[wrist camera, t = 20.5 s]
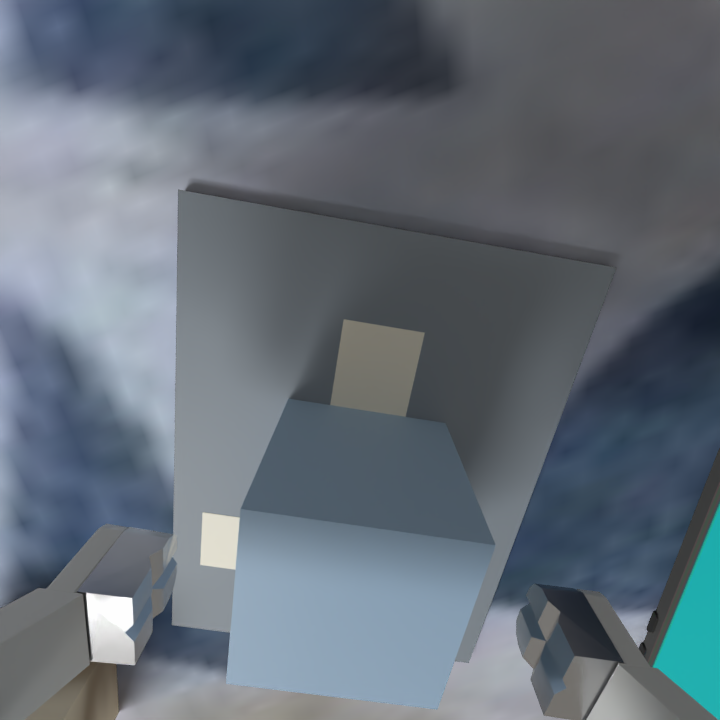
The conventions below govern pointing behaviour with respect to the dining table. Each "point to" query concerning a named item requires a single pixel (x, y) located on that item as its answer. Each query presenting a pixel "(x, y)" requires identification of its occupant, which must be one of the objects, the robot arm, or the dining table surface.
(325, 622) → the steel-blue cube
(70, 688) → the birch block
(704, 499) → the smartphone
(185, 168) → the dining table surface
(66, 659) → the robot arm
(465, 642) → the letter card
